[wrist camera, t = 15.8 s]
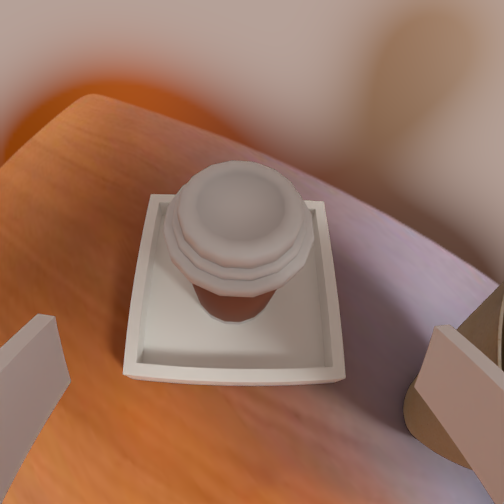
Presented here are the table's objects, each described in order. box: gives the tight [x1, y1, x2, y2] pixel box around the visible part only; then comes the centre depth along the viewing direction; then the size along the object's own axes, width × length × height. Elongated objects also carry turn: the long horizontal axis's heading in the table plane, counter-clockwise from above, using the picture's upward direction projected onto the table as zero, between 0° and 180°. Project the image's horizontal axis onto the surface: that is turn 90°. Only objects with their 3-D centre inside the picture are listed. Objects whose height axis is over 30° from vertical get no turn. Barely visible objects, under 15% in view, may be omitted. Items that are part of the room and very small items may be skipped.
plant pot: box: [403, 282, 504, 470], centre depth 17 cm, size 15×15×16 cm
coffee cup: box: [163, 160, 314, 324], centre depth 23 cm, size 9×9×12 cm
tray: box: [123, 194, 346, 386], centre depth 27 cm, size 17×17×3 cm
